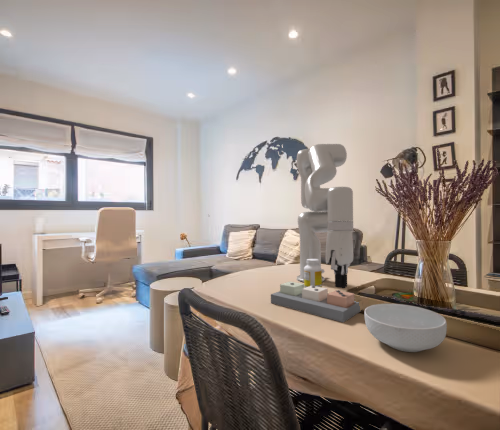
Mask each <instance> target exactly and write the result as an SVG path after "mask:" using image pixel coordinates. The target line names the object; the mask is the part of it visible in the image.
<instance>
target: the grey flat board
mask: <svg viewBox="0 0 500 430" xmlns="http://www.w3.org/2000/svg"><path fill="white" fill-rule="evenodd" d="M270 304H273V305H277V306H280V307H285V308H288V309H292V310H295V311H299V312H303V313H307V314H310V315H314V316H317V317H322V318H325V319H329V320H334V321H336V322H341V323H344V322H346V321H348V320H350V319H351V318H352V317H354V316H355V315H358V314H359V313H360V312H361V311H360V306H359V302H356V301H354V304H353V305H352V306H350V307H348V308H343V307H339V306H335V305H330V304H327V298H326V299H324V300H322V301H320V302H317V301H313V300H309V299H304V298H302V294H300V295H297V296H292V295H287V294H283V293H280V290H279V291H276V292H273V293H270Z"/></svg>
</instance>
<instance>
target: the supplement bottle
mask: <svg viewBox="0 0 500 430" xmlns="http://www.w3.org/2000/svg"><path fill="white" fill-rule="evenodd" d="M318 264H319V260H318V259H307V266H305V267H304V282H303V284H304V288H306V287H309V286H317V287H322V288H323V282H322V276H323V273H322V269H323V268H322V266H321V267H320V266H318Z"/></svg>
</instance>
